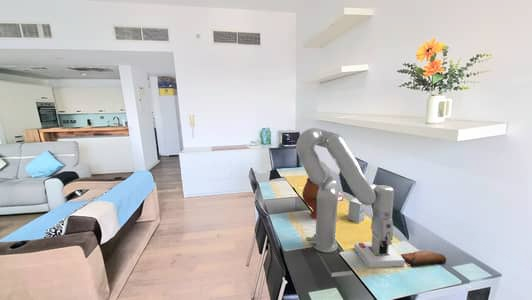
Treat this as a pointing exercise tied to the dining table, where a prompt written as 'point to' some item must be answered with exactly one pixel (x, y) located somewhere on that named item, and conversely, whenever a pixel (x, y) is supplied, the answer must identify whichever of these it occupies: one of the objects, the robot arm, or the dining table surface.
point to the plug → (377, 244)
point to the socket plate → (378, 261)
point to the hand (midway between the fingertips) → (379, 249)
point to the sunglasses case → (423, 258)
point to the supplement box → (356, 210)
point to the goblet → (311, 196)
